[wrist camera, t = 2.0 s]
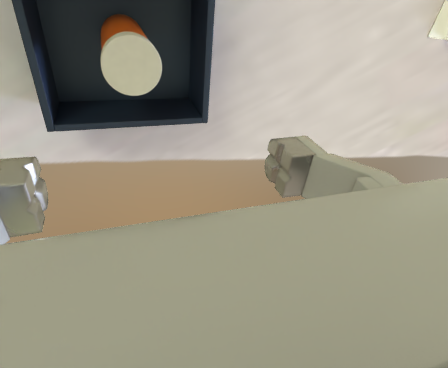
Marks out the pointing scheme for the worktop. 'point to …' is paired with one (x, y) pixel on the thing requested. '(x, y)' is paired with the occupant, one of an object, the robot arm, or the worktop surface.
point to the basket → (91, 63)
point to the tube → (128, 57)
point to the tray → (441, 24)
